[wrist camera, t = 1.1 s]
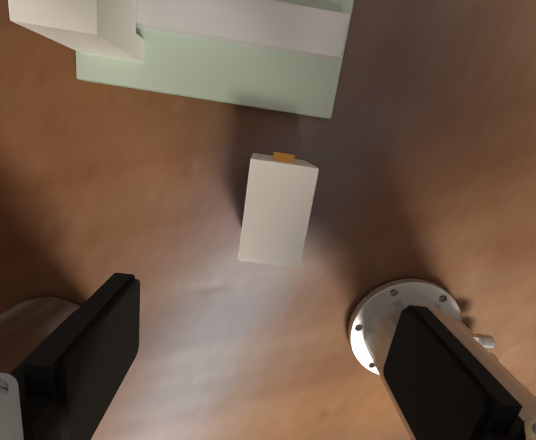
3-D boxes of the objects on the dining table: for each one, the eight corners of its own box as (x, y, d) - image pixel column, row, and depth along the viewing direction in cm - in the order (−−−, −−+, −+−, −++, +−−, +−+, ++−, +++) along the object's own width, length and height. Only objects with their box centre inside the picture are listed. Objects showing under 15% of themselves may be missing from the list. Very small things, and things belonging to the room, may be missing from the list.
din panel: (358, -37, 23) (407, -122, 15) (328, 119, 27) (356, 112, 19) (78, -91, 22) (-23, -215, 14) (83, 80, 25) (4, 56, 17)
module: (305, 153, 27) (320, 160, 21) (290, 237, 30) (299, 268, 23) (254, 146, 27) (251, 150, 20) (243, 231, 30) (237, 260, 23)
